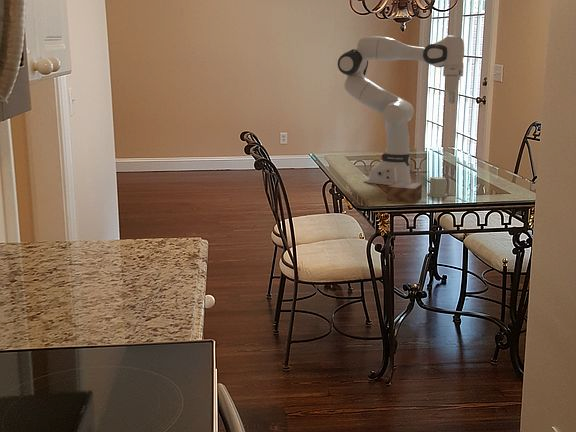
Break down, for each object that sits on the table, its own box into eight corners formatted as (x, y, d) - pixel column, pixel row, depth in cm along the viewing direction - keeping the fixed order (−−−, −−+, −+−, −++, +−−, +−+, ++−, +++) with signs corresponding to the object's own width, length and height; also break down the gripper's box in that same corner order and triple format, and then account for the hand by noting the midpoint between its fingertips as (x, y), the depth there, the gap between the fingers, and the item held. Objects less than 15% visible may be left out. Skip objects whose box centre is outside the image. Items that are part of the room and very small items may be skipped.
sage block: (434, 197, 306) (435, 179, 304) (427, 195, 311) (428, 177, 310) (447, 196, 307) (448, 178, 306) (440, 194, 313) (441, 176, 312)
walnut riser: (386, 200, 301) (387, 186, 300) (394, 195, 312) (395, 181, 311) (414, 202, 296) (415, 188, 295) (421, 197, 307) (422, 183, 306)
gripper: (447, 73, 331) (446, 103, 332) (444, 70, 311) (442, 102, 313) (461, 73, 329) (460, 103, 331) (458, 70, 309) (457, 102, 311)
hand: (451, 103), depth 322 cm, fingers open, 8 cm apart
